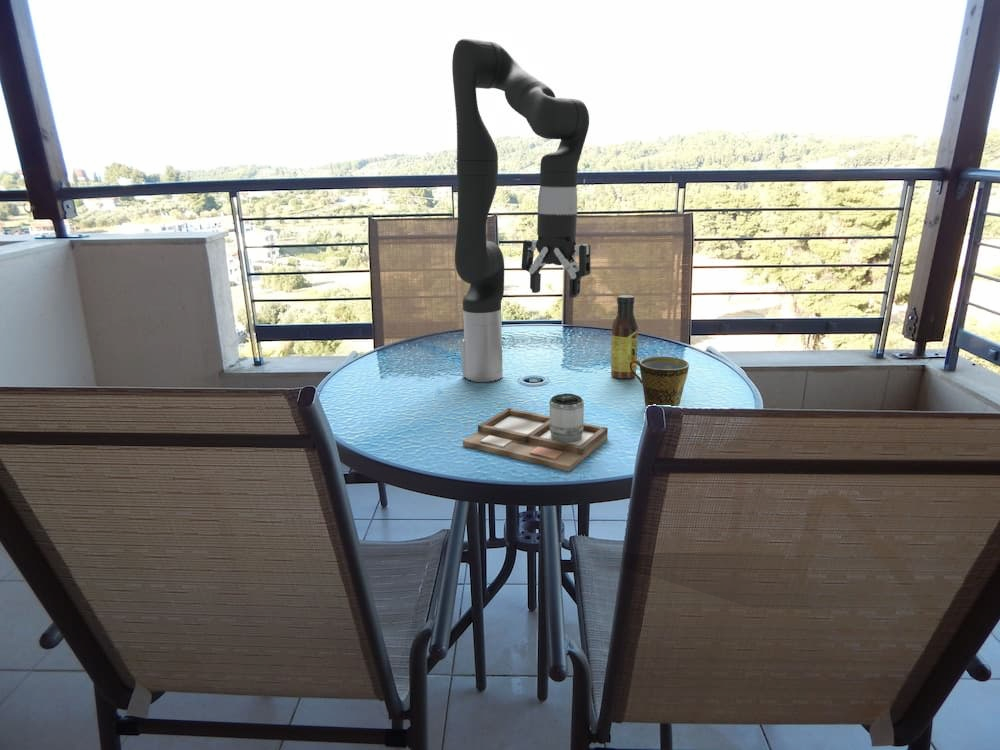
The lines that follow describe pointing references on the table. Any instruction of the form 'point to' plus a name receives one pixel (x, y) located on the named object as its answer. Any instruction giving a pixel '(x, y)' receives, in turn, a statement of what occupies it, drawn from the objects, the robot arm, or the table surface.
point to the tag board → (533, 440)
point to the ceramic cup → (662, 379)
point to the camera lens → (566, 417)
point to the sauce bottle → (624, 339)
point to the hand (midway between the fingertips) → (554, 294)
